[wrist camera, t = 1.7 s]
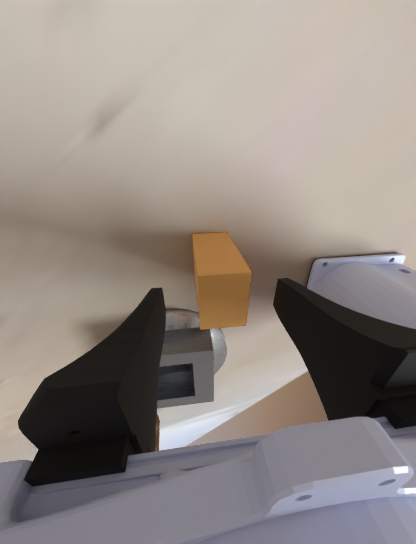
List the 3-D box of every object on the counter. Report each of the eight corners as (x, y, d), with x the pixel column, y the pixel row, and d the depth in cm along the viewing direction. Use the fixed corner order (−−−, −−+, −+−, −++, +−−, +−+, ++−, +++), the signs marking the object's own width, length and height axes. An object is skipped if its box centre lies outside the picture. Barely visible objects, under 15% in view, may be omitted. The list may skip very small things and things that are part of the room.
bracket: (226, 304, 21) (235, 332, 17) (223, 376, 27) (229, 408, 24) (103, 314, 20) (87, 347, 16) (129, 387, 26) (121, 422, 22)
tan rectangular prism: (227, 232, 17) (252, 272, 11) (225, 272, 19) (246, 325, 13) (192, 233, 17) (197, 275, 11) (194, 274, 19) (200, 329, 13)
